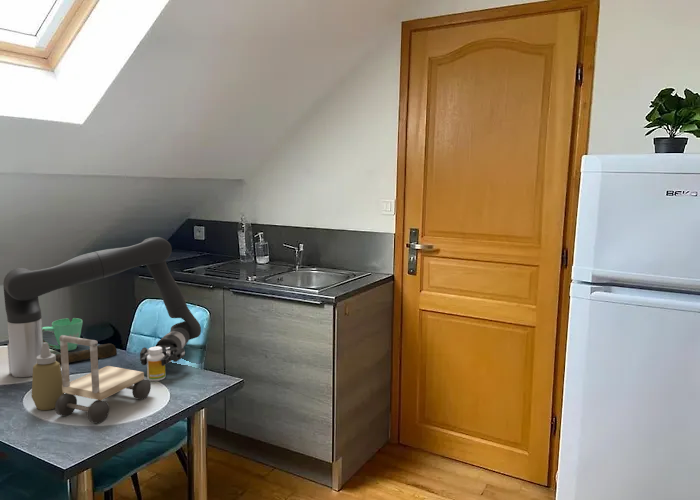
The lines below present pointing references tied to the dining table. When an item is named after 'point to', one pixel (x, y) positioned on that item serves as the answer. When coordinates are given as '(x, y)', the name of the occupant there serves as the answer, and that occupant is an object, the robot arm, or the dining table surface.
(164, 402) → the dining table surface
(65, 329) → the mug
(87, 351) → the hand tool
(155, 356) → the supplement bottle
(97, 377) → the trolley
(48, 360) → the squeeze bottle
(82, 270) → the robot arm
